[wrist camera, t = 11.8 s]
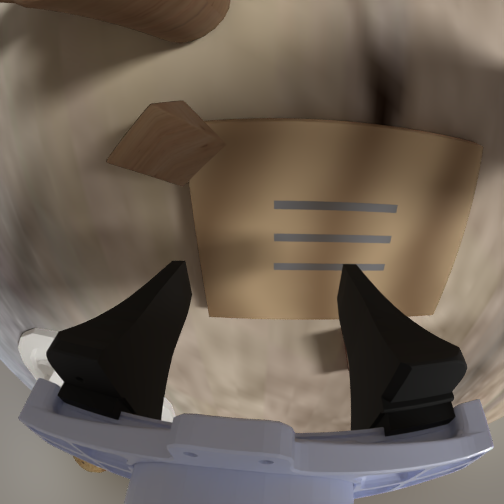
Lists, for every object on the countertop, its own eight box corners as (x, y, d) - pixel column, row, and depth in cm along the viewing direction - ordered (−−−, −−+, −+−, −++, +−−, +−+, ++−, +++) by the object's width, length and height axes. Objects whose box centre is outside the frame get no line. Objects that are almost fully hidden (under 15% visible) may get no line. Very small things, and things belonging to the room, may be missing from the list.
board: (472, 141, 13) (483, 146, 12) (427, 304, 20) (432, 314, 19) (189, 122, 15) (183, 125, 14) (212, 305, 22) (209, 316, 21)
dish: (19, 292, 24) (-35, 365, 15) (208, 400, 31) (191, 489, 21) (26, 372, 36) (1, 420, 27) (147, 439, 43) (133, 491, 33)
